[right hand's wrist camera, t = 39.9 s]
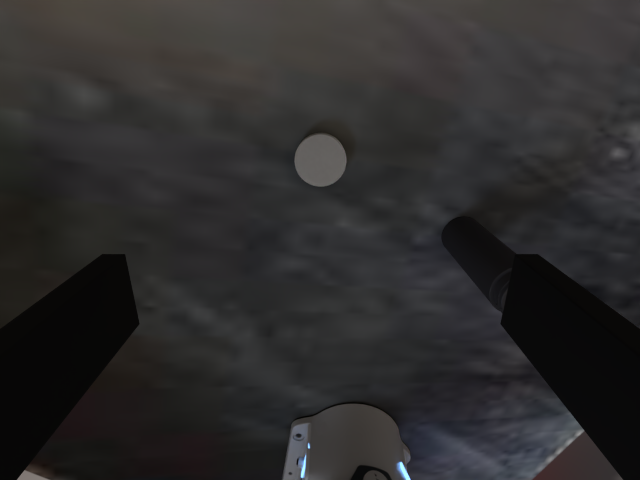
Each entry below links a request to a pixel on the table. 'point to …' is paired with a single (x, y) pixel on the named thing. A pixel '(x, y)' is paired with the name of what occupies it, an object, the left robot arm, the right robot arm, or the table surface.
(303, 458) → the left robot arm
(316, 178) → the lid
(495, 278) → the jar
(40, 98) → the table surface
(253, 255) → the table surface
